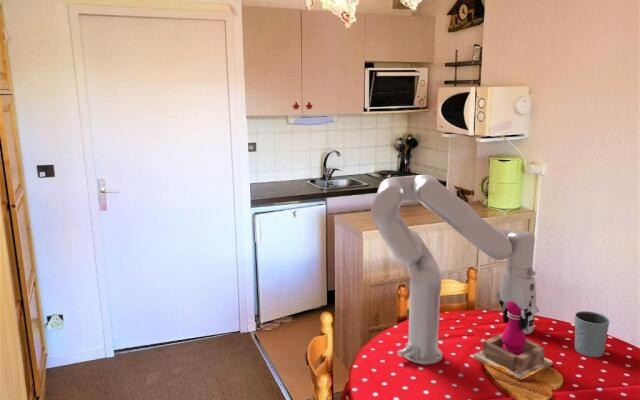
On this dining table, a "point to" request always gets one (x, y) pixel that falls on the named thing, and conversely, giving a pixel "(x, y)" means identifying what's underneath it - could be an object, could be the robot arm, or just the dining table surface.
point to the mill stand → (513, 357)
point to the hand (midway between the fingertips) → (514, 324)
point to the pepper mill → (513, 331)
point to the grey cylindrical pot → (590, 333)
